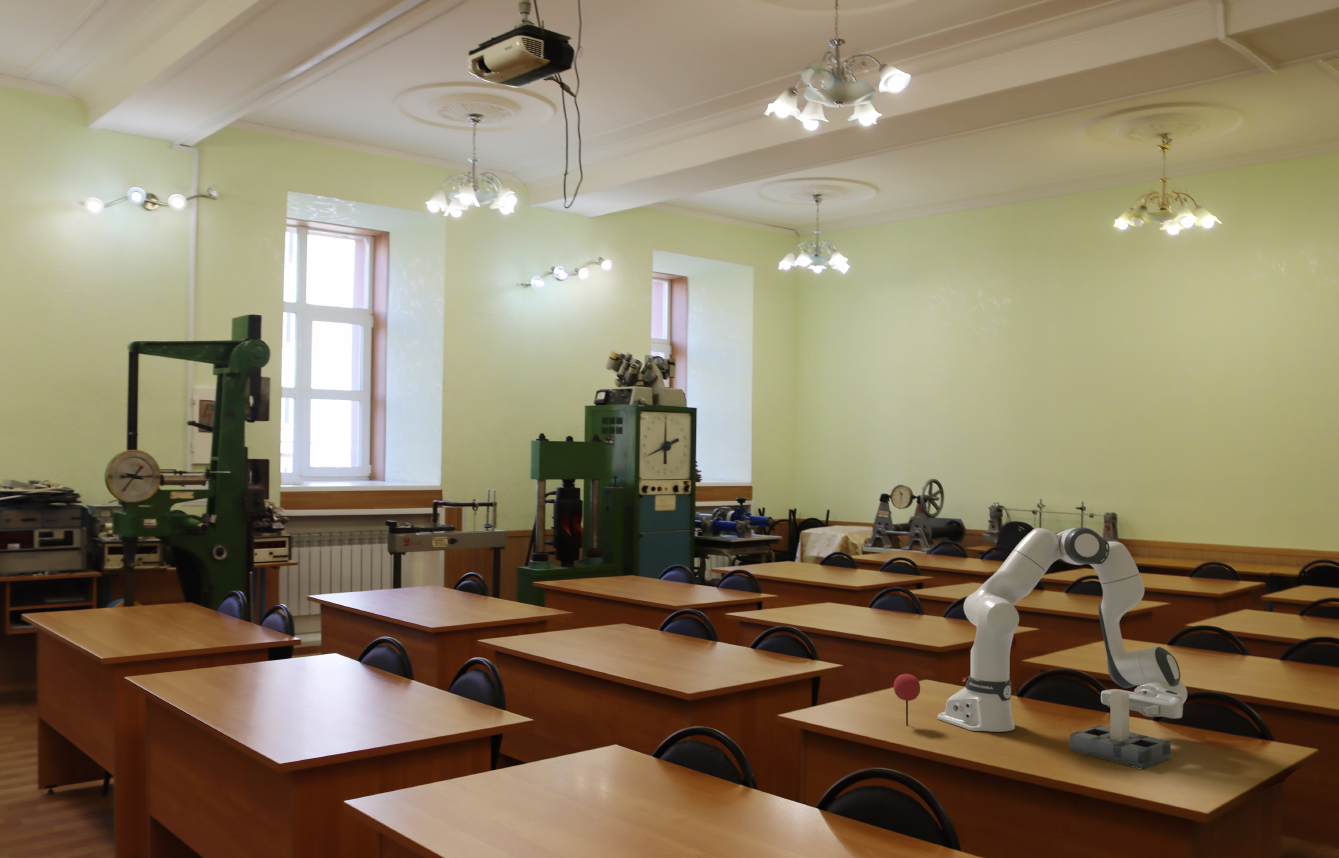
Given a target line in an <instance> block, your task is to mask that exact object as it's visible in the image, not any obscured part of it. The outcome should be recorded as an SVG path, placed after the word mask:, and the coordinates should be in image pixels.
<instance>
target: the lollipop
mask: <svg viewBox="0 0 1339 858" xmlns="http://www.w3.org/2000/svg"><path fill="white" fill-rule="evenodd" d="M893 691H894V694H895V696H896V697H897V698H898V699H900V700H903V701H905V723H906V724H905V725H906V726H909V702H911V701H913V700H915V699H917V697H919V695H920V692H921V684H920V682H919V680H918V678H917V677H916V676H914V675H913V674H910V673H903V674H900V675H898V676H897V677H896V678H895V679H894V682H893Z"/></svg>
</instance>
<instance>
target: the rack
mask: <svg viewBox="0 0 1339 858" xmlns="http://www.w3.org/2000/svg"><path fill="white" fill-rule="evenodd" d="M1171 742H1172V741H1170V740H1166V739H1161V738H1158V737H1153V736H1149V735H1143V734H1140V733H1135V732H1131V731H1129V740H1126V741H1123V742H1121V741H1117V740H1113V739H1110V727H1109V726H1105V725H1100V724H1097V725H1095V726H1094V725H1093V726H1091V727H1088V728H1085V729H1082V730H1078V731H1076V732H1072V733H1070V734H1069V751H1070V752H1073V751H1075V752H1074V753H1076V752H1079V753H1078V754H1080V753H1082V754H1081V755H1084V754H1085V756H1088V755H1090V756H1089V757H1092V756H1094V757H1093V758H1096V757H1097V759H1100V758H1102V759H1101V760H1104V759H1106V760H1105V761H1107V760H1109V761H1108V762H1111V761H1113V762H1112V763H1115V762H1118V763H1117V764H1119V763H1122V764H1121V765H1123V764H1124V765H1123V766H1127V765H1128V767H1131V766H1134V767H1133V768H1135V767H1137V768H1136V769H1138V768H1141V769H1140V770H1142V769H1143V770H1145V768H1146V769H1148V768H1150V766H1151V767H1153V766H1156V765H1158V764H1161V763H1163V762H1165V760H1166V761H1167V759H1168V760H1170V759H1169V758H1171V757H1172V756H1171V751H1172V750H1171V745H1172V744H1171ZM1171 759H1172V758H1171ZM1160 762H1161V763H1160ZM1155 764H1156V765H1155ZM1147 767H1148V768H1147Z"/></svg>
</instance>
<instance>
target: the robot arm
mask: <svg viewBox="0 0 1339 858" xmlns="http://www.w3.org/2000/svg"><path fill="white" fill-rule="evenodd" d="M1056 561H1060V562H1062V563H1065V564H1068V565H1077V566H1083V565H1088V566H1089V565H1090V566H1091V567H1092V568H1093V570H1094V571H1095V572H1096V574H1097V577H1098V580H1099V583H1100V585H1101V589H1102V600H1100V602H1099V604H1098V617H1099V622H1100V623H1099V624H1100V628H1101V632H1102V637H1103V638H1102V639H1103V643H1104V647H1105V652H1106V659H1107V663H1106V665H1107V672H1108V675H1109V678H1110V679H1111V680H1112V681H1113V682H1114V683H1115V684H1116V685H1118V686H1120V687H1122V688H1123V689H1129V688H1134V687H1136V688H1134V691H1129V690H1123V689H1116V688H1113V689H1105V690H1102V691H1101V692H1100V701H1101V704H1103V705H1105V706H1107V707H1110V693H1112V692H1116V691H1122V692H1127V693H1129V711H1135V712H1138V713H1139V714H1142V715H1143V716H1145V717H1150V718H1153V717H1163V718H1166V719H1167V718H1168V719H1181V718H1183V712H1184V711H1183V710H1184V703H1185V702H1186V700H1187V699H1188V690H1187V687H1186V685H1185V683H1184V682H1182V681H1181V671H1180V667H1179V663H1178V661H1177V660H1176V658H1175V657H1174V655H1173V654H1172V653H1170V651H1168V650H1167V649H1165V648H1163V647H1161V646H1157V647H1148V648H1144V649H1140V650H1134V651H1127V650H1126V649H1125V648H1124V647H1125V645H1124V643H1123V638H1122V637H1123V636H1122V632H1121V627H1120V621H1121V619H1122V617H1123V616H1124V615H1126V613H1127V612H1129V611H1131V610H1132V609H1133V608H1135V607H1136V606H1138V604H1139V603H1140V602H1141V601H1142V599H1143V598H1144V595H1145V590H1146V589H1145V585H1144V580H1143V578H1142V576H1141V574H1140V572H1139V569H1138V566H1137V564H1136V562H1135V559H1133V557H1132V555H1131V553H1130V551H1129V550H1128V548H1127V547H1126V546H1125V544H1123V543H1122V542H1120V541H1115V540H1113V541H1107V540H1106V539H1104V538H1103V537H1102V536H1101V535H1100V534H1099V533H1098V532H1097V531H1095V530H1093V529H1091V528H1089V527H1083V526H1082V527H1070V528H1067V529H1064V530H1061V531H1058V532H1056V533H1054V532H1053V531H1051V530H1050V529H1047V528H1042V527H1036V528H1034V529H1032V530H1031V531H1030V532H1028V533H1027V534H1026V535H1025V536H1024V537H1023V538H1022V539H1021V540H1020V541H1019V543H1018V544H1016V546H1015V548H1013V550H1012V551H1011V553H1010V554H1009V555H1008V556H1007V558H1006V559H1005V560H1004V562H1002V564H1001V565H1000V567H999V568H998V569H997V570H996V571H995V572H994V573H993V575H991V576H990V577H988V579H987V580H986V581H985V582H984V583H982V585H981V586H979V588H978V589H976V591H974V592H973V593H971V594H969V595H968V596H966V598H965V599H964V603H963V612H964V615H965V616H966V619H967V620H968V621H969V622H970V623H971V624H972V625H974V626H975V627H976V632H975V637H974V642H973V645H972V647H971V649H970V675H968V676H966V677H963V678H962V683H965V682H966V684H965V685H964V687H963V688H961V689H959V691H957V692H956V693H954V694H953V695H950V696H949V697H948V699H947V700H946V703H945V710H944V711H942V712H940V713H938V714H937V719H938V720H940V721H943V722H945V723H949V724H952V725H955V726H957V727H961V728H963V729H966V730H969V731H974V732H996V733H998V732H999V733H1000V732H1002V733H1003V732H1011V731H1013V730H1015V729H1016V726H1015V723H1014V718H1013V714H1012V707H1011V696H1012V681H1011V679H1010V658H1011V657H1010V656H1011V647H1012V644H1013V643H1012V642H1013V638H1014V634H1015V631H1016V629H1017V628H1018V626H1019V622H1020V615H1019V611H1018V610H1017V609H1016V607H1015V605H1016V604H1017V603H1018V602H1019V601H1021V600H1022V599H1023V598H1024V597H1027V596H1028V595H1030V593H1032V592H1033V589H1034V588H1035V587H1036V586H1037V585H1038V583H1039V582H1040V581H1041V579H1042V577H1044V575H1045V574H1046V573H1047V571H1048V569H1049V568H1050V567H1051V565H1052V564H1053V563H1054V562H1056Z"/></svg>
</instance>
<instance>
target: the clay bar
mask: <svg viewBox="0 0 1339 858" xmlns="http://www.w3.org/2000/svg"><path fill="white" fill-rule="evenodd" d="M1109 708H1110V710H1109V711H1110V715H1109V717H1110V718H1109V719H1110V722H1109V723H1110V724H1109V726H1110V739H1113V740H1117V741H1121V742H1123V741H1126V740H1129V732H1130V710H1129V693H1127V692H1122V691H1116V692H1112V693H1110V706H1109Z"/></svg>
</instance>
